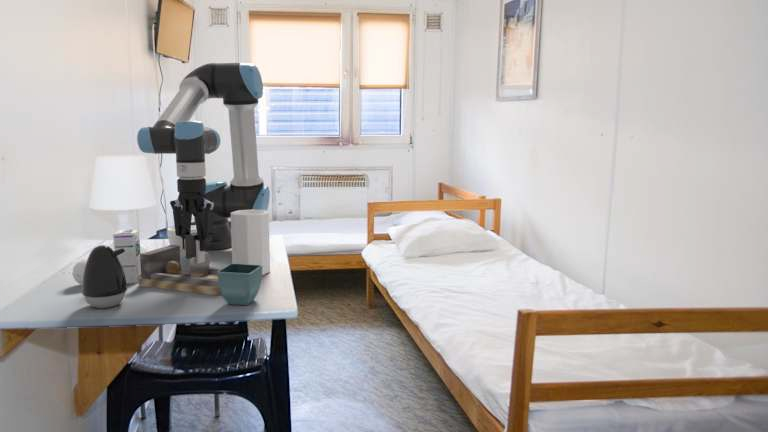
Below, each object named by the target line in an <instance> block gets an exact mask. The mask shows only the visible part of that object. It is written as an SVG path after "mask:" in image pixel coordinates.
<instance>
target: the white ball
mask: <svg viewBox="0 0 768 432" xmlns="http://www.w3.org/2000/svg"><path fill="white" fill-rule="evenodd" d="M87 259H88V258H87ZM87 259H86V258H85V259H81V260H80V261H78V262H76V264H75V265H74V266H73V268H72V272H71V271H70V272H69V274H71V273H72V274H71V275H72V277H73V279H74V281H75V282H77V283H78V284H79V285H81V286H82V280H83V273H84V269H85V265H86V262H87ZM61 274H62V275H63V274H65V272H64V273H63V272H62V273H61Z"/></svg>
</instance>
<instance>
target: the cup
mask: <svg viewBox="0 0 768 432" xmlns="http://www.w3.org/2000/svg"><path fill="white" fill-rule="evenodd" d="M269 214H270V213H269V211H268V210H267V211H265V210H253V209H252V210H238V211H234V212H231V218H230V231H231V239H232V247H231V259H232V261H231V262H232V263H231V264H249V265H262V276H261V277H263V276H265V275H267V274H269V273H271V257H270V256H271V250H270V215H269Z"/></svg>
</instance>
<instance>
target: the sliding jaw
mask: <svg viewBox="0 0 768 432" xmlns="http://www.w3.org/2000/svg"><path fill="white" fill-rule="evenodd" d="M197 238H198V235H197V233H196V232H193V233H190V234H186V235H185V249H186V256H185V257H182V258H181V275H182V276H191V277H200V276H203V275H206V274H208V273H209V267H210V257H209V256H210V254H209V252H207V251H205V262H202V263H197V259H196V240H197Z"/></svg>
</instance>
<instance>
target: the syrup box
mask: <svg viewBox="0 0 768 432" xmlns="http://www.w3.org/2000/svg"><path fill="white" fill-rule="evenodd" d="M112 237H113V251H116V250H119V249H122V248H123V249H124V250H125V252H124V253H122V254H120V255H118V256H117V257H118V258H119V260H120V263H121V265H122V267H123V270H124V274H125V278H126V283H127V285H128V284H129V285H130V284H139V279H140V278H141V264H140V254H141V253H142V252H141V243H140V231H139V229H123V230H120V229H119V230H117V232H115V233H114V234H112Z"/></svg>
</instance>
